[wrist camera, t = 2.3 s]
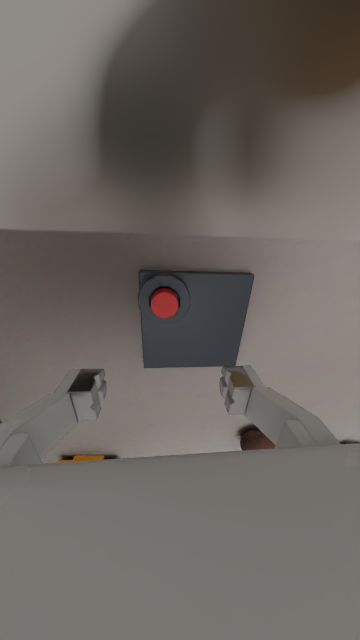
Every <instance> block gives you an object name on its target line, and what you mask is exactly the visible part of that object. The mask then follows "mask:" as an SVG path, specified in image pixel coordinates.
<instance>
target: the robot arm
mask: <svg viewBox="0 0 360 640" xmlns="http://www.w3.org/2000/svg"><path fill="white" fill-rule="evenodd" d="M221 373H222V375H223V376H222V377H221V378H220V392H221V395H222V397H223V398H224V399H225V406H226V409H227V412H228V414H229V415H238V414H245V416H246V417H247V418H248V419H249V420H250V421H251V422H252V423H253V424H254V425H255V426H256V427H257V428H258V429H259V430H260V431H261V432H263V433H264V434H265V435H266V436H267V437H268V438H269V439H270V440H271V441H272V442H273V443H274V444H275V445H276V446H275V448H274V449H260V450H245V451H230V452H215V453H200V454H185V455H169V456H154V457H138V458H122V459H107V460H91V461H76V462H60V463H45V464H43V463H42V461H41V459H42V458H43V457H44V456H45V455H46V454H47V453H48V452H49V451H50V450H51V449H52V448H53V447H54V446H55V445H56V444H57V443H58V442H59V441H60V440H61V439H62V438H63V437H64V436H65V435H66V434H67V433H68V432H69V431H70V430H71V429H72V428H73V427H74V426H75V425H76V424H77V423H78V422H85V421H97V419H98V416H99V413H100V410H101V403H102V402H103V401H104V399H105V396H106V391H107V385H106V381H105V380H104V376H105V373H104V370H103V369H72V370H70V371H69V372H68V374H67V375H66V376H65V378H64V379H63V381H62V382H61V384H60V385H59V386H58V388H57V389H56V391H55V392H54V393H53V394H49V395H47V396H46V397H44V398H42V399H41V400H39V401H38V402H36V403H34V404H33V405H31V406H29V407H28V408H26V409H25V410H23V411H21V412H20V413H18V414H16V415H15V416H13V417H12V418H10V419H8V420H7V421H5V422H3V423H2V424H0V640H360V443H353V444H340V442H339V441H338V440H337V439H336V438H335V437H334V435H333V434H332V433H331V432H330V431H329V429H328V428H327V427H326V426H325V425H324V424H323V422H322V421H321V420H320V419H319V418H318V417H317V416H315V415H313V414H312V413H310V412H308V411H307V410H305V409H304V408H302V407H300V406H299V405H297V404H295V403H294V402H292V401H291V400H289V399H287V398H286V397H284V396H282V395H281V394H279V393H277V392H276V391H274V390H273V389H271V388H269V387H265V385H264V384H263V382H262V381H261V379H260V378H259V377H258V375H257V374H256V372H255V371H254V369H253V368H252V366H250V365H247V366H223V368H222V371H221Z"/></svg>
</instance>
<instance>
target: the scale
mask: <svg viewBox="0 0 360 640" xmlns="http://www.w3.org/2000/svg"><path fill="white" fill-rule="evenodd" d="M253 280H254V274H251V273H232V272H196V271H160V270H140V271H139V286H140V292H139V294H138V300H139V308H140V310H141V323H142V342H143V361H144V368H164V367H212V366H235V365H236V360H237V356H238V351H239V346H240V341H241V337H242V332H243V327H244V322H245V318H246V313H247V308H248V303H249V299H250V294H251V289H252V284H253ZM162 288H167V289H170V290H172V291H173V292H174V293H175V294H176V296H177V299H178V310H177V312H176V313H175V314H174V315H173V316H171V317H169V318H160V317H158V316H156V315H155V314H154V313H153V311H152V309H151V300H152V296H153V294H154V293H155V292H156V291H157V290H159V289H162Z"/></svg>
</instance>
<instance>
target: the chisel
mask: <svg viewBox="0 0 360 640" xmlns="http://www.w3.org/2000/svg"><path fill="white" fill-rule="evenodd" d="M240 445H241V448H242V451H245V450H260V449H274V448H275V446H276V445H275V444H274V443H273V442H272V441H271V440H270V439H269V438H268V437H267V436H266V435H265V434H264V433H263V432H260V431H256V430H250V431H247V432H245V433H244V434H243V435H242V437H241V441H240Z"/></svg>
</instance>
